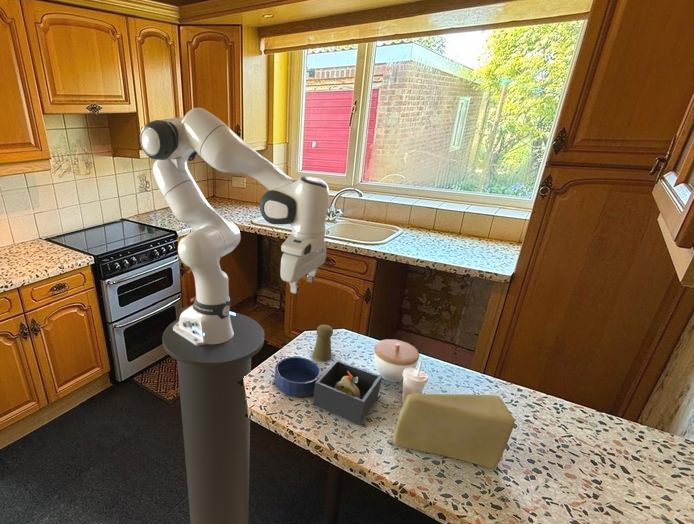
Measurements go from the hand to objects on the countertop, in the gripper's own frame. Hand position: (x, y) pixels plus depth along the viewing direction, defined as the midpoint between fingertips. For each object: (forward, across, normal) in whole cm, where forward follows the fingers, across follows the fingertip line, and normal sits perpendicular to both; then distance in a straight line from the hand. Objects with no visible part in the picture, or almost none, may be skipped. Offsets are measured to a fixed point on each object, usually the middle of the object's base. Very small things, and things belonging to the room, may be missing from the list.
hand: (302, 286), depth 114 cm
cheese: (+27, +8, +45) cm, 53 cm away
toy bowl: (+28, +7, +5) cm, 29 cm away
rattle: (+27, +5, +21) cm, 35 cm away
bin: (+28, +6, +20) cm, 34 cm away
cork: (+28, -11, +4) cm, 31 cm away
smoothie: (+27, -4, +34) cm, 44 cm away
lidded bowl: (+28, -14, +26) cm, 41 cm away
